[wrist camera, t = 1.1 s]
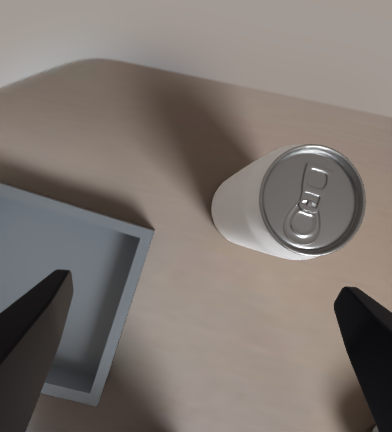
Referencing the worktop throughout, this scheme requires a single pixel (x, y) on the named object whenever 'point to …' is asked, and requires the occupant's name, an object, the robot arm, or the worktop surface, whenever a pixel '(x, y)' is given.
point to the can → (292, 203)
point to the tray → (81, 276)
